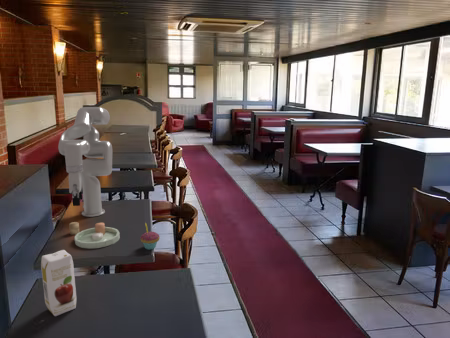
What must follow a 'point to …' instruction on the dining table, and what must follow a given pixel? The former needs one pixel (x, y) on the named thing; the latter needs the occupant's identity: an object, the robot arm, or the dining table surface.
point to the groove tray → (97, 238)
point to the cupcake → (149, 239)
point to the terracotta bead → (100, 228)
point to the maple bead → (74, 228)
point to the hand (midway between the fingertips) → (77, 202)
